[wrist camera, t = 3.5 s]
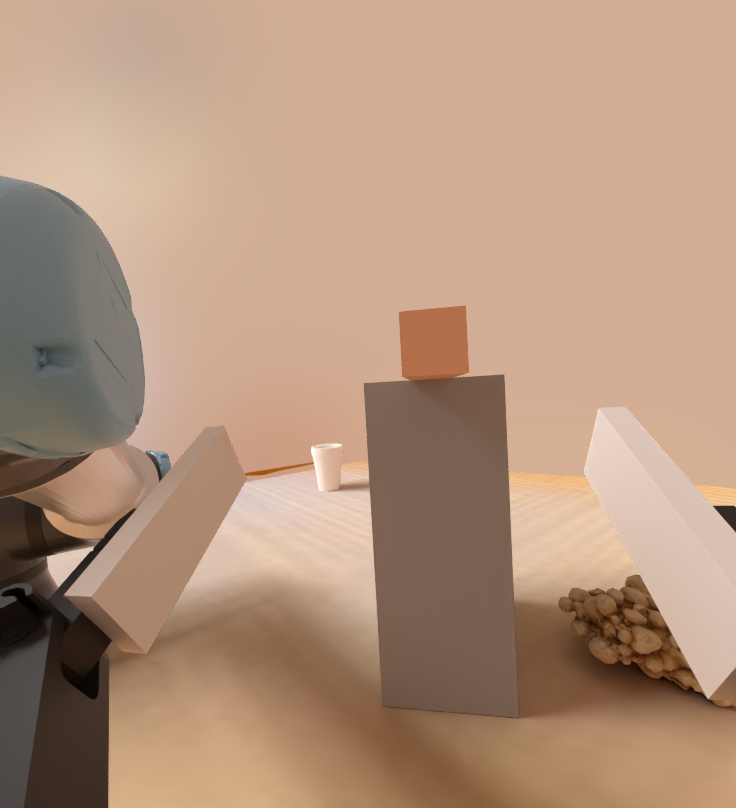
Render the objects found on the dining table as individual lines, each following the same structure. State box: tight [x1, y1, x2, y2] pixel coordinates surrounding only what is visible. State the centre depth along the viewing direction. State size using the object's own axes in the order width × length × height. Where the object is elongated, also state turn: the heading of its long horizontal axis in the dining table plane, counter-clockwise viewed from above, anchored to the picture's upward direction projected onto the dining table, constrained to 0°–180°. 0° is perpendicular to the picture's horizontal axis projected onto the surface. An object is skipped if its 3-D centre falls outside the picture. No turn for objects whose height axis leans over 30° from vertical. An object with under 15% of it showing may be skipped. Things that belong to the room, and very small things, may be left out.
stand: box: [364, 375, 519, 718], centre depth 40 cm, size 18×12×30 cm, turn 171°
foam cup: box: [311, 444, 343, 491], centre depth 109 cm, size 10×9×13 cm
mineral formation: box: [559, 575, 736, 707], centre depth 37 cm, size 8×13×15 cm
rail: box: [399, 306, 469, 380], centre depth 33 cm, size 28×4×4 cm, turn 171°
